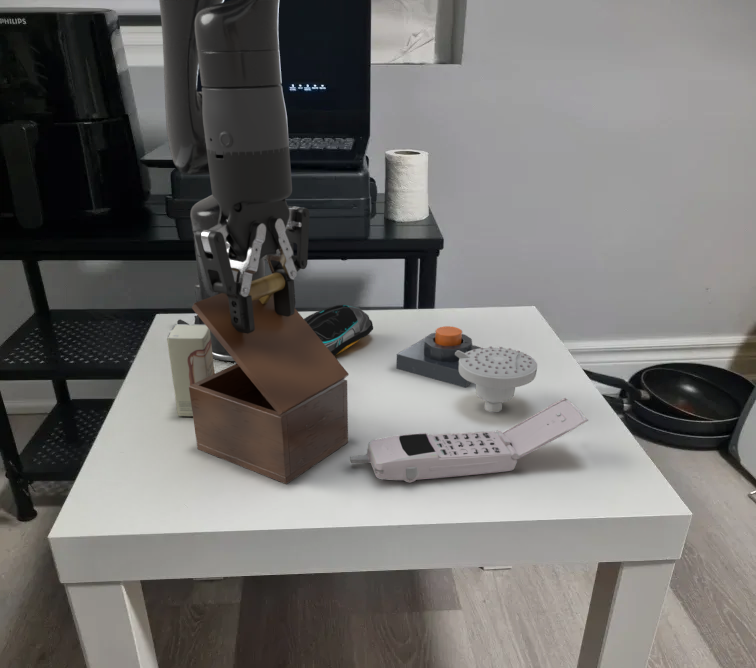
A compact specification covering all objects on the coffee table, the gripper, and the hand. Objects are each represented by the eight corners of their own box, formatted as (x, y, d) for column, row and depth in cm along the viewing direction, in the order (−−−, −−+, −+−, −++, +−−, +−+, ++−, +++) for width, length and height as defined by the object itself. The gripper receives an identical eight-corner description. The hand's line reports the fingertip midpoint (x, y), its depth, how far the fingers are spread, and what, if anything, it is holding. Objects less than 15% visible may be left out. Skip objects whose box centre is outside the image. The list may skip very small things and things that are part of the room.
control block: (396, 368, 104) (396, 341, 102) (429, 348, 110) (430, 322, 108) (465, 388, 99) (467, 359, 97) (496, 366, 105) (499, 338, 103)
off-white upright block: (213, 417, 91) (202, 338, 86) (176, 417, 91) (164, 338, 85) (219, 399, 95) (210, 322, 90) (185, 399, 95) (173, 323, 90)
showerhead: (459, 336, 94) (539, 343, 93) (455, 389, 98) (532, 396, 97) (450, 365, 87) (537, 373, 85) (446, 421, 91) (529, 429, 89)
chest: (197, 449, 85) (188, 385, 80) (262, 413, 92) (257, 353, 88) (286, 484, 78) (281, 417, 74) (348, 442, 86) (347, 380, 82)
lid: (191, 307, 74) (209, 276, 71) (265, 280, 82) (284, 250, 78) (279, 415, 74) (301, 389, 71) (345, 378, 82) (368, 352, 78)
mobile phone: (592, 420, 78) (357, 438, 74) (583, 468, 82) (358, 489, 77) (569, 396, 83) (348, 412, 79) (561, 443, 87) (348, 461, 82)
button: (430, 344, 102) (430, 331, 101) (443, 336, 105) (444, 324, 104) (453, 349, 100) (453, 337, 99) (465, 341, 103) (466, 329, 102)
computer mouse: (261, 353, 108) (257, 314, 105) (352, 327, 117) (351, 291, 114) (295, 372, 103) (293, 332, 99) (388, 343, 112) (388, 305, 109)
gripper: (269, 132, 75) (283, 299, 84) (159, 149, 65) (188, 336, 74) (328, 136, 71) (336, 310, 80) (221, 154, 61) (244, 351, 70)
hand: (265, 322), depth 77 cm, fingers closed on lid, 5 cm apart
